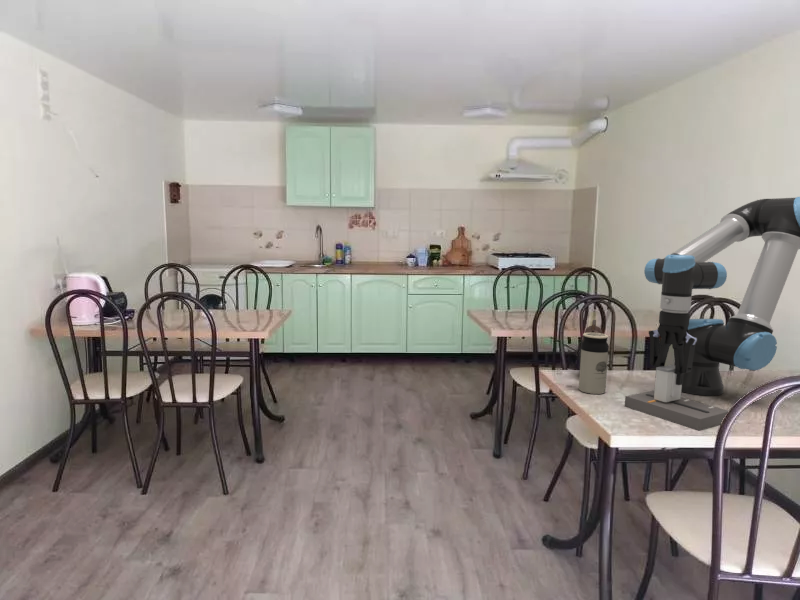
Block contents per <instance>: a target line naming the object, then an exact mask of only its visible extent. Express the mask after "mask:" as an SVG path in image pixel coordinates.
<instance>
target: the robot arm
mask: <svg viewBox="0 0 800 600" xmlns="http://www.w3.org/2000/svg"><path fill="white" fill-rule="evenodd" d="M752 237H761V239H762V241H764V244H763V247H762V249H761V252H760V255H759V257H758V259H757V262H756V264H755V267H754V270H753V273H752V275H751V278H750V280H749V283H748V285H747V288H746V290H745V293H744V295H743V298H742V301H741V303H740V305H739V309H738V310H737V313H736V314H735V315H733V316H730V317H729V318H728V321H727V323H726V325H725V322H724V320H723V319H721V318H691V317H690V316H691V314H690V311H691V310H692V309H691V307H692V295H693V290H712V289H718V288H721V287H722V286H723V285H724V284H725V283H726V281H727V276H728V271H727V270H726V267H725V266H724V265H723V264H722V263H719V262H714V261H708V260H710V259H711V258H713V257H715V256H716V255H718V254H719V253H720V252H722V251H723V250H725V249H727V248H729V247H730V246H731V245H733V244H734V243H736V242H738V243H739V242H740V243H741V242H742V241H745V240H746V239H748V238H752ZM799 250H800V196H796V197H780V198H762V199H761V198H760V199H756V200H754V201H750V202H747V203H746V204H744V205H741V206H740V207H737V208H736V209H734V210H732V211H730V212H728V213H727V214H726V215H724V216H723V217H722V218H721V220H720V221H719V223H717V224H716V225H714V226H713V227H711V228H710V229H707V231H705V232H703V233H702V234H700V235H699V236H696V238H694V239H692V240H690V241H689V242H688V243H686V244H684V245H682V247H680V248H678V249H677V250H675V251H673V252H672V253H670V254H667V255H666V256H665V257H664V258H652V259H650V260H647V263H646V264H645V266H644V277H645V279H646V280H647V281H648V282H649V283H652V284H657V285H661V293H660V307H659V308H660V309H661V310H659V317H658V323H659V325H658V327H657V329H653V330H649V331H648V337H649V365H650V366H653V367H654V368H655V369H656V367H662V366H666V362H667V357H668V354H669V351H670V347H671V346H672V349H673V355H674V365H675V370H676V372H674V373H673V375H672V386H671V396H673V397H674V396H678V395H679V390H680V385H682V389H681V393H687V394H692V395H699V396H719V395H720V396H721V395H722V394H723V393H724V383H723V379H722V375H721V372H720V364H724V365H727V366H732V367H735V368H738V369H740V370H749V371H758V370H761V369H763V368H765V367H766V366H768V365H769V364H770V363H771V362H772V361H773V359H774V357H775V356H776V352H777V349H778V346H777V344H778V342H777V339H776V337H775V336H774V335H773V332H774V329H773V327H772V326H771V324H770V323H771V321H772V318H773V315H774V313H775V310H776V308H777V307H778V306H777V305H778V303H779V300H780V297H781V295H782V293H783V290H784V287H785V284H786V282H787V280H788V277H789V274H790V272H791V269H792V267H793V265H794V261H795V259H796V256H797V254H798V252H799ZM660 338H661V339H660ZM654 378H655V379H656V375H655V377H654Z"/></svg>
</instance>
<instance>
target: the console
mask: <svg viewBox="0 0 800 600" xmlns="http://www.w3.org/2000/svg"><path fill="white" fill-rule="evenodd" d="M654 392H655V389H653V390H649V391H644V392H639V393H635V394H628V395H625V396H624V407H626V408H629V409H632V410H635V411H638V412H642V413H644V414H647V415H650V416H653V417H656V418H660V419H663V420H666V421H669V422H672V423H675V424H678V425H680V426H684V427H686V428H689V429H693V430H696V431H703V430H706V429H709V428H713V427H716V426H720V424H721V422H722V420H723V418H724V417H725V415H726V414H727V413H728V411H729V410H728V409H725V408H720V407H718V406H714V405H709V404H706V403H703V402H700V401H695V400H693V399H689V398H686V397H682V396H681V399H678V400H674V401H670V402H662V401H659V400H656V399H654ZM721 425H722V424H721Z"/></svg>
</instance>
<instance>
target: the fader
mask: <svg viewBox="0 0 800 600" xmlns="http://www.w3.org/2000/svg"><path fill="white" fill-rule="evenodd" d="M674 372H676V370H675V364H668V365H665V366H662V367H656V368H655V376H656V378H655V382H654V390H655V392H654V399H656V400H659V401H662V402H670V401H674V400H678V399H681V397H682V391H681V389H682V385H680V390H679V395H678V396H674V397H673V396H671V386H672V375H673V373H674Z"/></svg>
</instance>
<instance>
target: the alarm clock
mask: <svg viewBox="0 0 800 600" xmlns="http://www.w3.org/2000/svg"><path fill="white" fill-rule="evenodd" d="M584 333H601V334H603V329H601V327H600V326H597V319H592V323H591V325H589V326H587V327H585V331H584ZM582 336H583V335H582ZM583 341H584V336H583V337H582V340H581V343H580V348H579V362H580V361H581V346H582V343H583Z"/></svg>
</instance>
